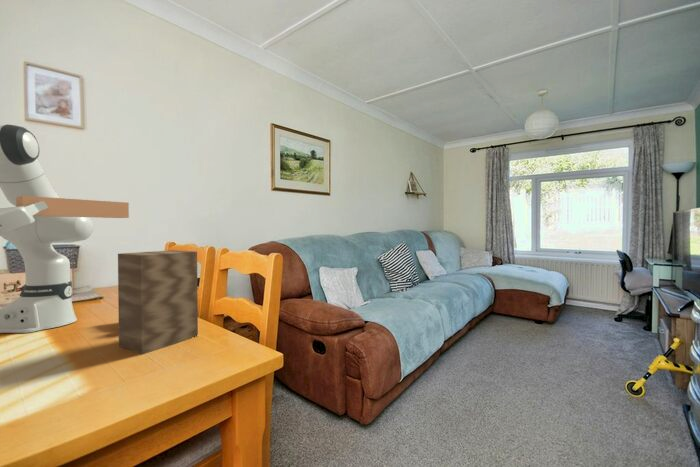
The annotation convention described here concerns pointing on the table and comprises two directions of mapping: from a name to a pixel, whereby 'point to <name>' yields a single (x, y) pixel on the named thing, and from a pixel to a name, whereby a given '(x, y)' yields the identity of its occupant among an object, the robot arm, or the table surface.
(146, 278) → the zigzag grain wooden block
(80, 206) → the rail
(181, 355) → the table surface
